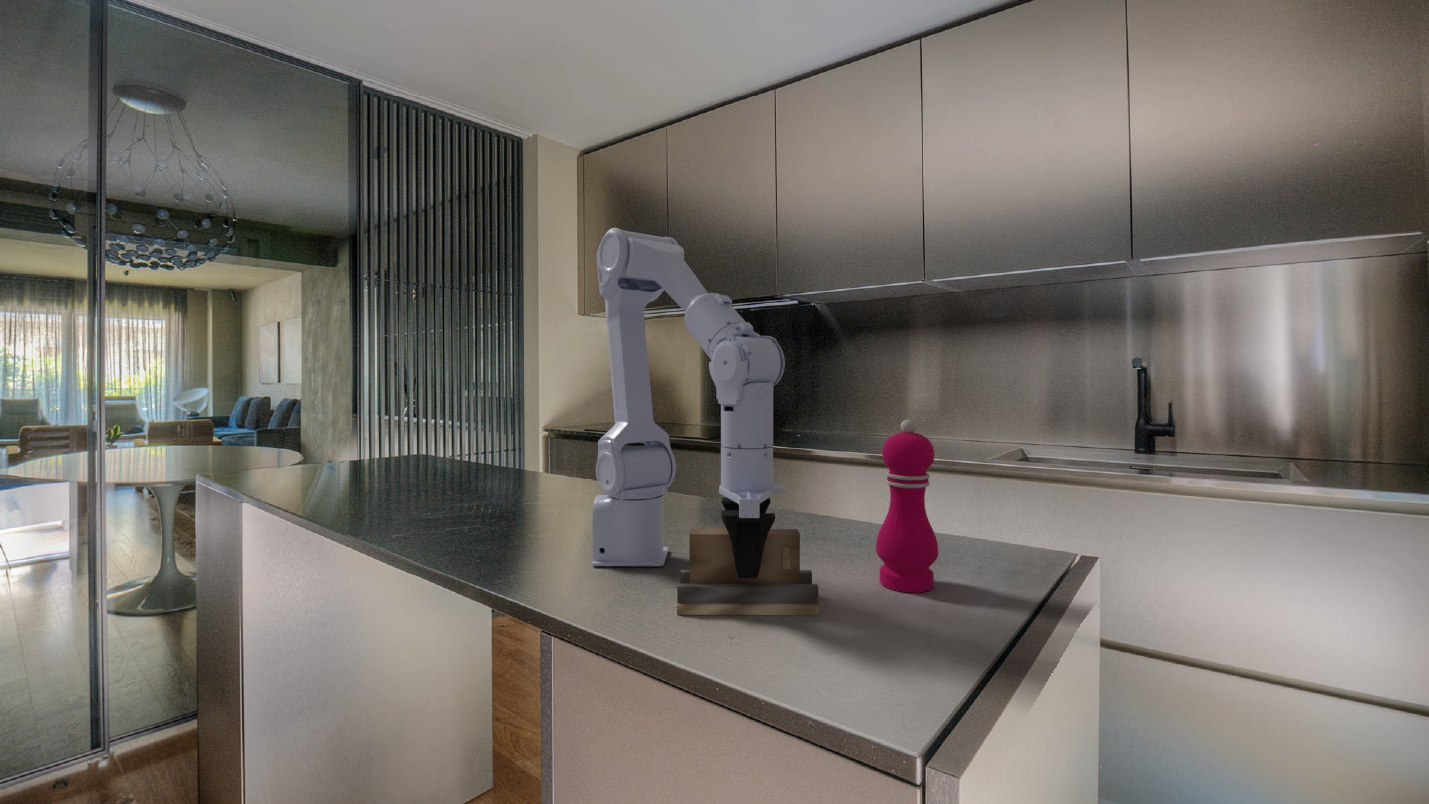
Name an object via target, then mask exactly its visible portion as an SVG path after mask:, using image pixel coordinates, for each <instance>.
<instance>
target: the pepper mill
mask: <svg viewBox="0 0 1429 804" xmlns="http://www.w3.org/2000/svg"><path fill="white" fill-rule="evenodd" d="M916 429H917V424H916V423H915V421H914V420H912V419H910V418H909V419H904V420H902V422H901V424H900V430H901V432H898V433H895V434H892V435H891V436H889V437H888V438H887V439H886V441H884V442H883V443H884V444H883V446H882V451H881V457H882V461H883V462H884V464H885V466H886V467H887V469H888V471H887V472H886V473H885V476H886V480H885V483H886V484H887V486H889V493H890V499H889V507H888V511H887V513H886V516H885V518H884V521H883V522H882V524H881V527H880V529H879V531H878V534H877V537H876V544H875V551H876V554H877V556H878V557H879V559H880V560H881V562H882V563H883V565H881V566H880V567H879V583H880V584H881V585H882V587H884V586H885V588H887V589H889V590H891V589H892V590H891V591H895V590H896V592H900V591H901V592H900V593H902V592H903V593H908V594H909V593H911V594H912V593H914V594H915V593H919V594H920V593H925V592H929V591H930V590H931V591H932V590H933V588H934V582H935V581H934V580H935V579H934V577H935V573H934V571H933V570H932V569H931V568H930V567H931V566H932V565H933V564H934V563H935V562H936V561H937V559H938V557H939V544H938V540H937V537H936V534H935V531H934V529H933V527H932V524H931V523H930V520H929V518H928V513H927V511H926V504H925V503H926V502H925V501H926V499H925V496H926V490H927V489H926V488H927V487H929V486H930V481H929V479H930V478H931V477H930V476H931V475H930V474H929V473H927V471H928V469H929V468H930V467H931V466H933V463H934V460H935V450H934V449H935V448H934V446H933V444H932V443H931V441H930V439H929V438H927V437H926V436H925V435H924V434H923V435H922V434H920V433H916V432H915V431H916Z"/></svg>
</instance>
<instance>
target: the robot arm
mask: <svg viewBox="0 0 1429 804" xmlns="http://www.w3.org/2000/svg"><path fill="white" fill-rule="evenodd" d="M596 268H597V279H598V288H599V295H600V296H601V297H602V298H603V299H604V307H605V309H604V310H605V318H606V328H607V329H606V331H607V342H608V355H609V366H610V377H611V390H612V401H613V403H612V404H613V414H614V425H613V426H612V427H611V428H610V429H609V430H608V431H607V432H606V433H604V435H603V436H601V437H600V439H599V440H598V441H597V446H598V447H597V449H598V450H597V460H596V464H595V477H596V481H597V483H598V485H599V487H600V489H601V490H602V491H603V492H604V494H599V495H596V496H595V498H594V502H593V507H592V519H591V521H592V562H591V566H593V567H663V566H664V564H665V562H666V559H667V556H668V552H669V547H668V546H664V495H665V494H668V490H669V489H668V487H670V486H671V485H672V484H673V482H674V479H675V477H676V472H677V462H676V458H675V455H674V454H673V450H672V448H671V442H670V435H669V434H668V432H667V431H665V430H664V429H662V427H660V426H659V425H658V424H657V423H655V421H654V413H653V412H654V411H653V403H652V402H653V401H652V392H651V391H652V390H651V377H650V367H649V355H648V344H647V332H646V331H647V330H646V322H645V321H646V320H645V312H644V311H645V308H646V307H647V305H648V304H649V303H651V302H654V301H656V300H657V299H658V298H659V297H660V296H661V295H662V294H663V292H664V291H665V292H666V294H668V295H669V296H670V299H672V300H674V302H675V303H676V304H677V305H678V306H679V307H680V308H681V309H682V311H684V312H685V314H684V319H683V322H684V326H685V329H686V330H687V331H688V333H689V334H690V335H691V336H692V338H693V339H694V340H695V341H696V342H697V344H698V345H699V346H700V348H702V350H703V351H704V352H705V354H706V355H707V356H708V357H709V359H710V361H709V362H708V369H709V374H710V376H711V379H712V381H713V383H714V385H715V390H716V395H715V396H716V400H717V403H718V404H719V405H720V485H719V486H718V493H719V495H722V496H723V497H722V498H721V504H722V506H723V508H724V509H723V510H720V512H721V513H720V517H721V521H722V522H723V524H724V526H725V529H727V531H728V533H729V536H730V540H731V543H732V548H733V554H734V561H735V567H736V571H737V575H738V578H757V577H758V574H759V571H760V566H761V561H762V555H763V550H764V545H765V541H766V538H767V536H768V533H769V531H770V529H772V527H773V525H774V523H775V521H776V515H775V514H776V513H774V512H773V513H771V512H767V510H768V508H769V506H770V505H771V497H772V496H773V495H776V494H777V495H778V494H779V495H780V494H784V493H785V492H784V489H785V488H784V485H783V484H775V483H774V386H775V387H776V385H778V383H780V381H781V380H782V377H783V374H784V372H785V365H786V364H785V363H786V361H785V355H784V351H783V349H782V347H781V346H780V344H779V343H778V340H777V339H776V338H775V337H774V336H769V335H760V334H759V333H757V332H755V331H754V327H753V325H752V324H751V323H750V322H749V321H748V322H746V321H745V319H744V318H743V317H742V316H741V315H740V313H738V311H737V310H736V309H735V308H734V307H733V306H732V303H733V300H732V299H731V298H730V297H729V296H728V294H727V295H726V294H720V293H716V292H709V293H708V291H707V290H706V288H705V287H704V285H703V284H702V282H700V280H699V279H698V277H697V275H695V273H694V272H693V270H692V269H691V267H690V266H689V265H688V263H687V261H685V250H684V248H683V247H682V246H680V245H679V244H678V242H677V240H676V239H675V238H674V237H672V236H670V237H669V236H664V237H663V236H657V235H652V234H646V233H640V232H635V231H634V232H633V231H628V230H623V229H622V228H617V227H612V228H610V229H609V230H607V232H606V233H605V234H604V235H603V237H602V239H601V241H600V243H599V246H598V248H597V251H596ZM637 443H638V444H639V443H640V444H644V445H639V446H629V447H624V446H625V445H627V444H637ZM766 512H767V513H766Z"/></svg>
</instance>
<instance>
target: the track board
mask: <svg viewBox="0 0 1429 804" xmlns="http://www.w3.org/2000/svg"><path fill="white" fill-rule="evenodd" d="M679 575H680V578H679V579H680V581H679V582H680V583H677V586H676V587H677V588H676V590H677V591H676V593H677V597H676V598H677V599H676V601H677V604H676V615H678V616H679V615H681V616H682V615H683V616H684V615H685V616H686V615H687V616H691V615H692V616H696V615H697V616H700V615H701V616H820V605H819V585H818V584H817V583H813V572H812V570H810V569H809V570H808V569H800V584H690V569H681V570H680V574H679Z"/></svg>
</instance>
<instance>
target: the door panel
mask: <svg viewBox="0 0 1429 804" xmlns="http://www.w3.org/2000/svg"><path fill="white" fill-rule="evenodd" d="M800 568H801V534H800V532H799V530H798V529H797V528H794V529H793V528H771V529H770V531H769V533H768V536H767V538H766V541H765V545H764V550H763V555H762V561H761V566H760V571H759V574H758V577H757V578H738V575H737V571H736V567H735V561H734V554H733V548H732V543H731V540H730V536H729V533H728V531H727V529H726V528H690V532H689V570H690V584H800V570H801V569H800Z"/></svg>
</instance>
